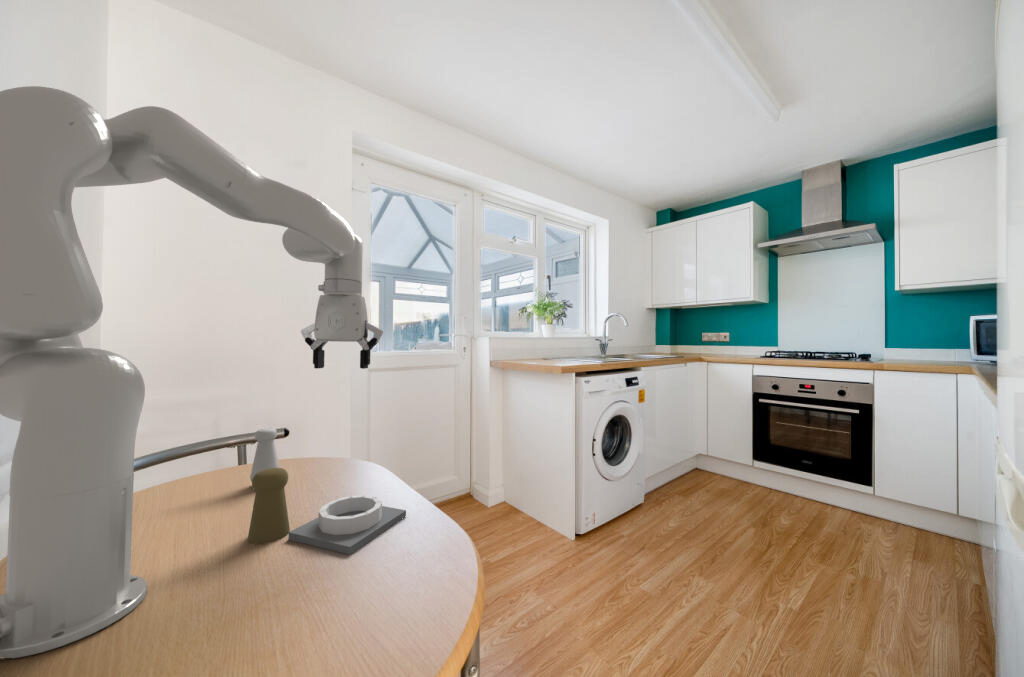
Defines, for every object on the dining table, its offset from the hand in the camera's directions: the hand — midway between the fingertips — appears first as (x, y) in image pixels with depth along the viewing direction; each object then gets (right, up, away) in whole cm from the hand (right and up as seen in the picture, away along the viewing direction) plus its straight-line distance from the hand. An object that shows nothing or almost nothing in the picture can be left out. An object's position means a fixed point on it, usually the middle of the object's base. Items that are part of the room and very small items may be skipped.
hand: (341, 368), depth 81 cm
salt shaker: (-20, -28, +5) cm, 35 cm away
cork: (-4, -27, -18) cm, 33 cm away
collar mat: (+9, -27, -15) cm, 32 cm away
